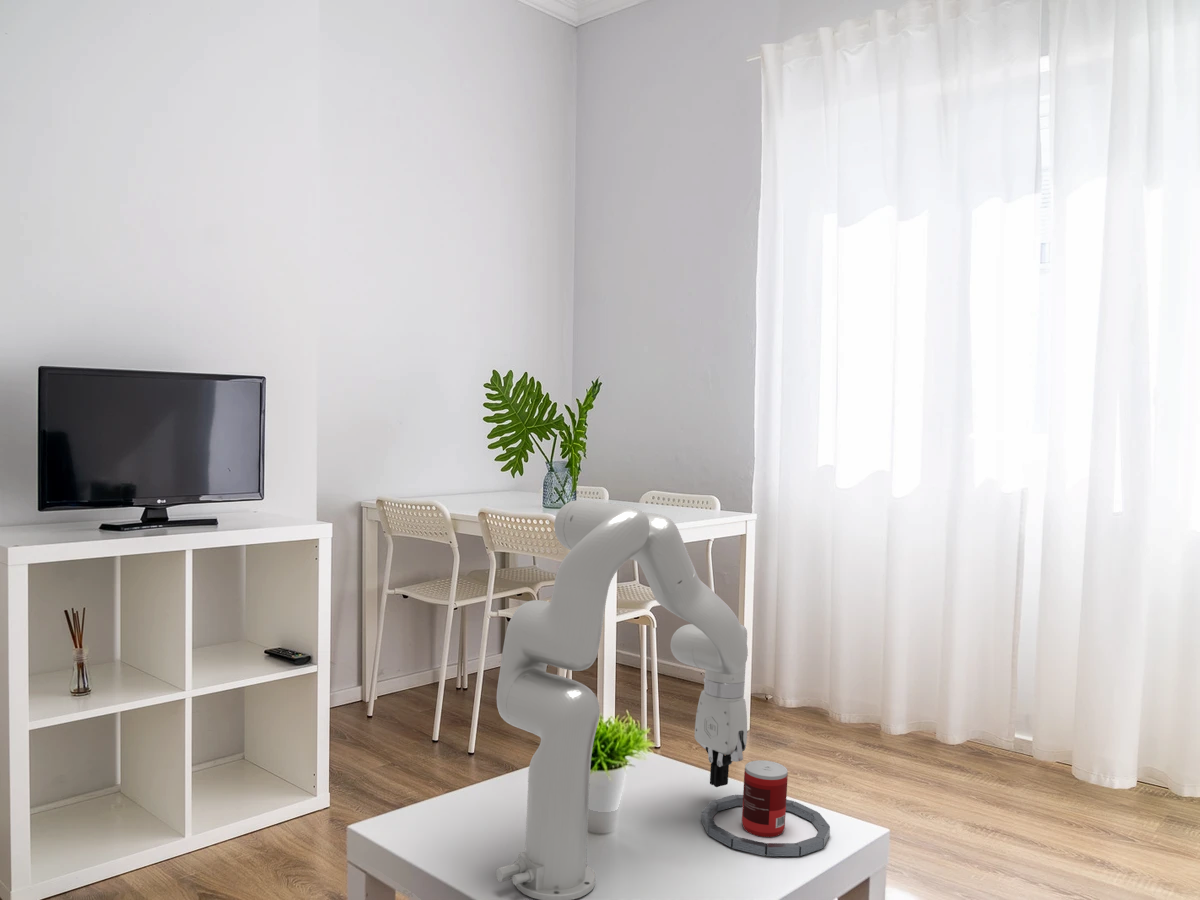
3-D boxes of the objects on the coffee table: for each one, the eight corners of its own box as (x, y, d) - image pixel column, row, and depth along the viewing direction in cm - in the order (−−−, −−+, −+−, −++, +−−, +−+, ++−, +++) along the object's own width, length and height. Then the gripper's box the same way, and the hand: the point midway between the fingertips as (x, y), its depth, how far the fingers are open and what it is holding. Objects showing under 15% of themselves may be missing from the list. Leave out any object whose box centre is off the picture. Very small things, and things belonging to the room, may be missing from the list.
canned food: (781, 820, 170) (784, 761, 170) (787, 839, 162) (790, 777, 162) (739, 817, 171) (742, 758, 170) (743, 836, 163) (746, 774, 162)
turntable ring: (766, 867, 151) (767, 849, 151) (678, 817, 169) (678, 801, 169) (853, 837, 164) (854, 820, 164) (763, 794, 181) (764, 779, 181)
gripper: (683, 680, 179) (678, 774, 179) (737, 701, 167) (731, 802, 167) (711, 676, 183) (706, 768, 184) (767, 696, 171) (761, 794, 172)
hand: (718, 784), depth 175 cm, fingers closed
